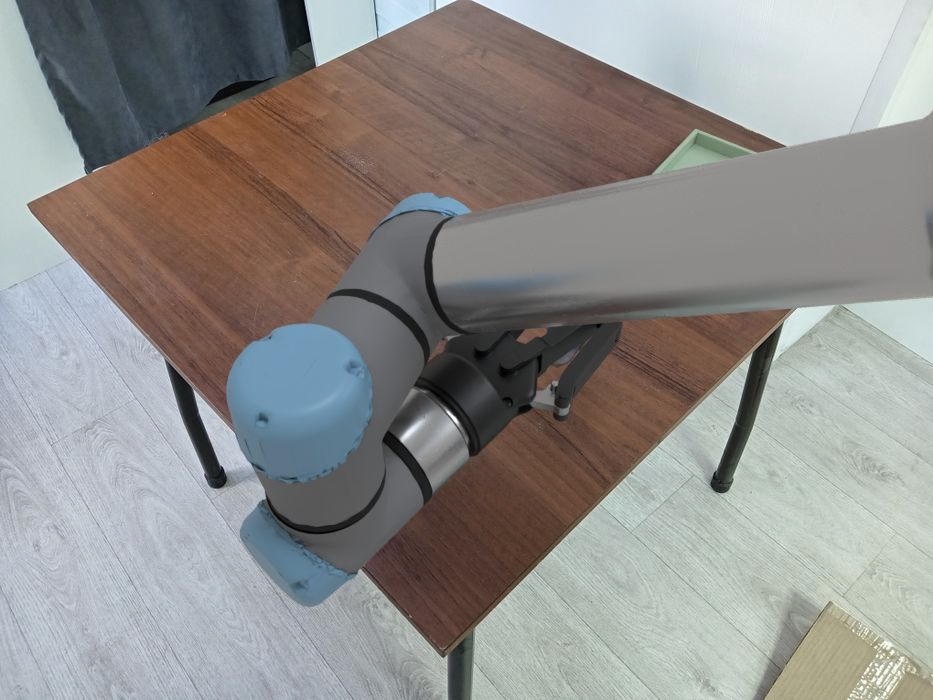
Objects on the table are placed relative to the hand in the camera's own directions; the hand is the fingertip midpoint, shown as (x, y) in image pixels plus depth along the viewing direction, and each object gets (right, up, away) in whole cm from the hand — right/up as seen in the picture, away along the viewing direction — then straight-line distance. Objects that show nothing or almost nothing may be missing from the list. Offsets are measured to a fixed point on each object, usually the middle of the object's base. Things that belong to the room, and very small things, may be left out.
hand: (624, 251), depth 67 cm
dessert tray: (+18, +10, +29) cm, 35 cm away
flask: (-3, -7, +3) cm, 8 cm away
